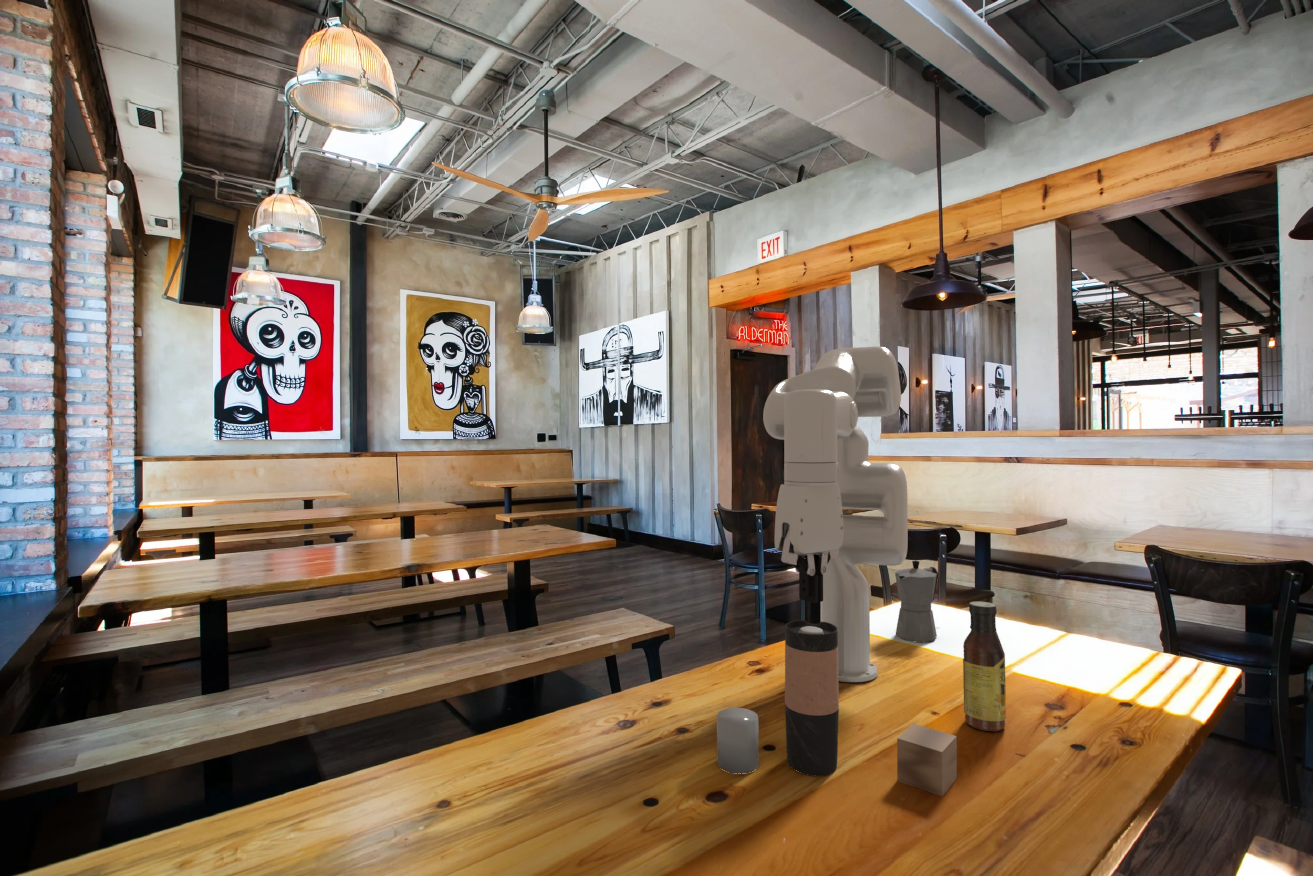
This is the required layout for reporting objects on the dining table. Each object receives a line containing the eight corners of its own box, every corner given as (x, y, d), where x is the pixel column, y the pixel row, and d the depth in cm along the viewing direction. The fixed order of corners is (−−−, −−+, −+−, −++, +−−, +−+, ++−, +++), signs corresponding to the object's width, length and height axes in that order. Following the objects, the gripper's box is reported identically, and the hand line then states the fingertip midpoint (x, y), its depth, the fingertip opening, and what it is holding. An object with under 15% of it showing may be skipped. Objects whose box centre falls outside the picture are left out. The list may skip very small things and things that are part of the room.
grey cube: (897, 781, 90) (897, 738, 90) (913, 764, 95) (913, 723, 95) (942, 797, 86) (942, 752, 86) (956, 779, 91) (956, 736, 91)
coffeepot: (917, 647, 146) (917, 567, 146) (881, 636, 154) (881, 560, 154) (955, 634, 155) (955, 559, 155) (919, 625, 163) (919, 553, 163)
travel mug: (809, 782, 90) (808, 637, 90) (774, 758, 97) (773, 623, 97) (850, 769, 93) (849, 629, 93) (814, 746, 100) (813, 616, 100)
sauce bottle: (1011, 735, 104) (1011, 610, 103) (969, 732, 105) (969, 608, 105) (998, 717, 110) (998, 600, 110) (958, 714, 111) (958, 598, 111)
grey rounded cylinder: (708, 761, 96) (708, 714, 96) (739, 750, 99) (739, 704, 99) (735, 779, 91) (735, 729, 91) (767, 767, 94) (766, 718, 94)
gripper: (826, 471, 102) (826, 588, 102) (754, 475, 94) (755, 602, 94) (865, 474, 96) (865, 598, 96) (792, 478, 88) (792, 614, 88)
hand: (811, 600), depth 95 cm, fingers closed
